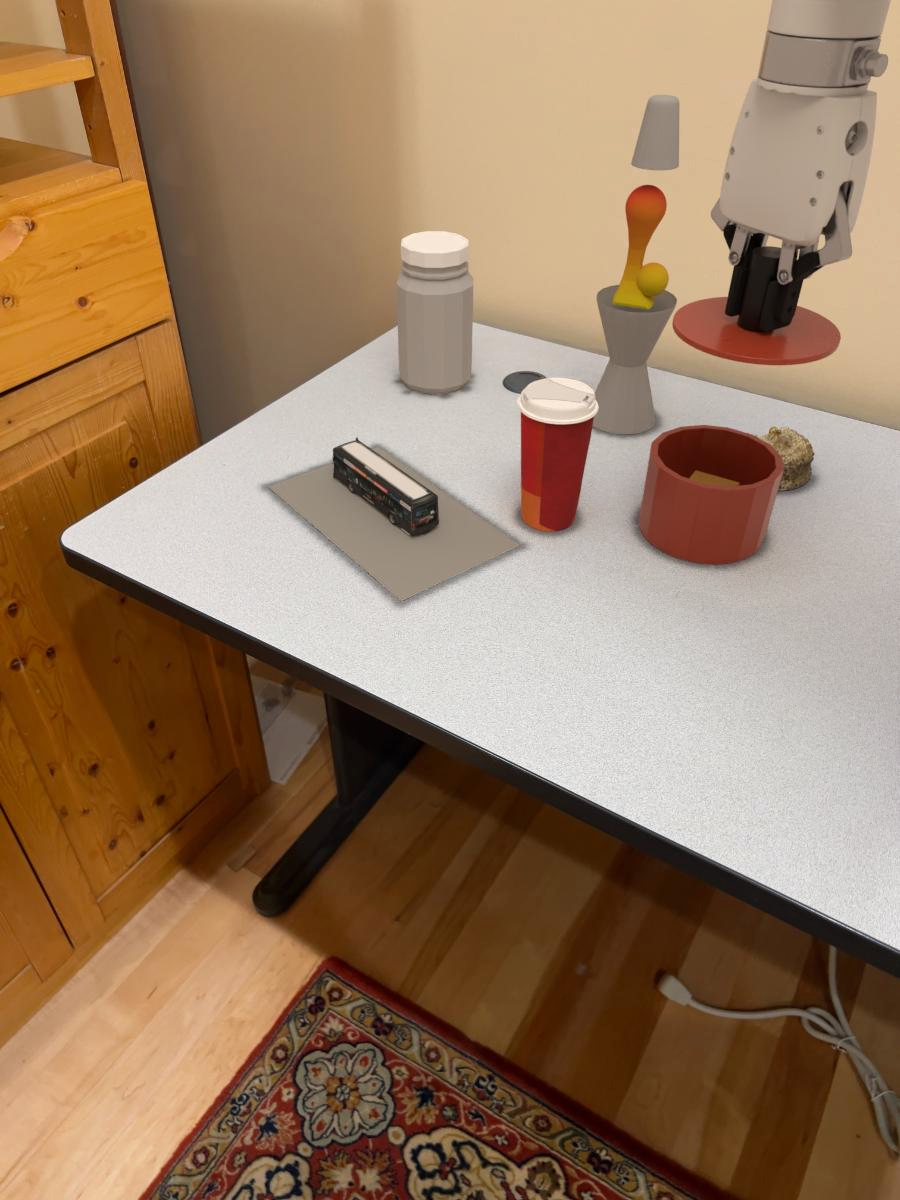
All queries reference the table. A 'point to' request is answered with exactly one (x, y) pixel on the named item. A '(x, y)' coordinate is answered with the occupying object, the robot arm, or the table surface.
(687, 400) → the table surface
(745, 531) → the pot
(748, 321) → the lid
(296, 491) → the flat grey placemat
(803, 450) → the cake
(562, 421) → the paper cup
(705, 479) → the block
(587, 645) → the table surface
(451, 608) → the table surface
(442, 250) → the jar
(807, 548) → the table surface
